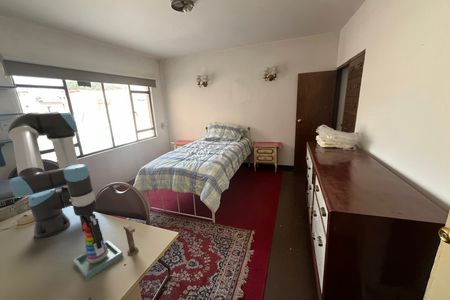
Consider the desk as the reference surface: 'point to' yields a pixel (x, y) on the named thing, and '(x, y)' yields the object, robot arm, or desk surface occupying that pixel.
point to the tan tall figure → (130, 239)
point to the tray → (94, 268)
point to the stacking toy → (91, 249)
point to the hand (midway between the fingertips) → (96, 249)
